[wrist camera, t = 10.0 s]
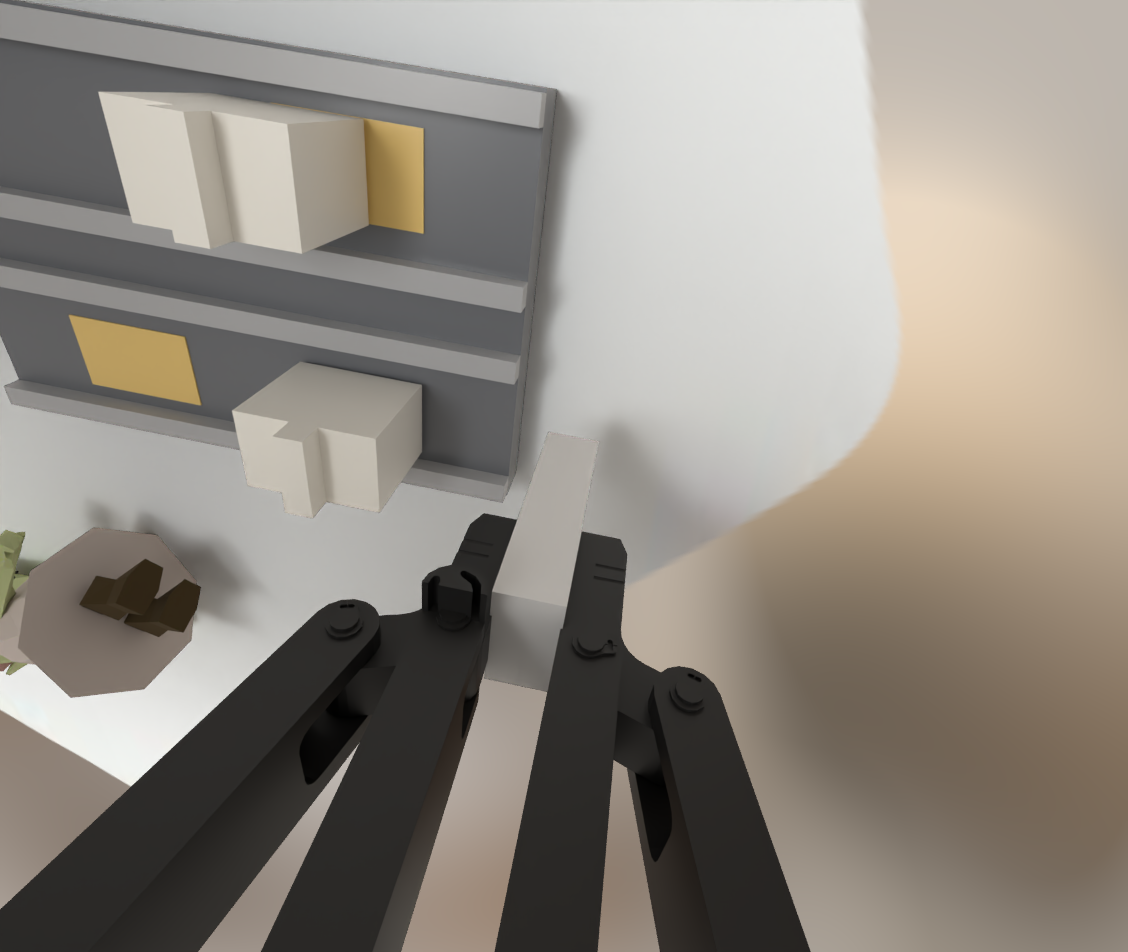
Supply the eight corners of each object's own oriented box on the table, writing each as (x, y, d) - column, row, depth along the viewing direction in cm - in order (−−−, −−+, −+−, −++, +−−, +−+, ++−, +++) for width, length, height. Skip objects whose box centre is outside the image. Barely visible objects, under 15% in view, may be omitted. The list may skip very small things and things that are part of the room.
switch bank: (63, 382, 22) (12, 406, 21) (-90, -18, 16) (-184, -32, 14) (515, 472, 22) (502, 505, 20) (557, 89, 15) (542, 87, 13)
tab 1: (229, 200, 16) (104, 229, 12) (210, 93, 15) (63, 91, 11) (368, 225, 16) (281, 262, 12) (363, 118, 14) (263, 125, 11)
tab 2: (308, 429, 20) (230, 501, 16) (300, 361, 18) (212, 424, 15) (421, 451, 20) (367, 530, 16) (421, 384, 18) (362, 454, 15)
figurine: (104, 472, 23) (-103, 526, 28) (-21, 661, 18) (-240, 683, 23) (269, 571, 29) (76, 600, 34) (205, 728, 25) (-5, 734, 30)
